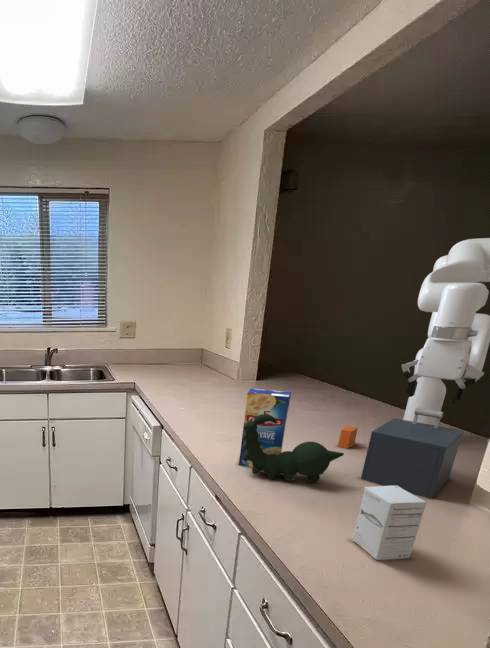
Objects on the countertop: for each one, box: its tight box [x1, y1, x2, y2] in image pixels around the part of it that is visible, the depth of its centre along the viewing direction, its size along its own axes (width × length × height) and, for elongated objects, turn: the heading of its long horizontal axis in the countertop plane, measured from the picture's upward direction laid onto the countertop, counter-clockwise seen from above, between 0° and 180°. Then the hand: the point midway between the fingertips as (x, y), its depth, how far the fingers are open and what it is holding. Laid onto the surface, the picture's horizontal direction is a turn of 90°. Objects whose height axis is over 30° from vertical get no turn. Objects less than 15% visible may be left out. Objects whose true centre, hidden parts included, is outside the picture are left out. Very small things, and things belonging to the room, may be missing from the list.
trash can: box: [360, 434, 463, 499], centre depth 118 cm, size 18×16×13 cm
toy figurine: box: [242, 414, 345, 484], centre depth 118 cm, size 9×19×25 cm
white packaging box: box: [351, 485, 427, 561], centre depth 86 cm, size 7×7×13 cm
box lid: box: [370, 408, 464, 450], centre depth 115 cm, size 19×16×5 cm
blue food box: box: [238, 387, 292, 468], centre depth 127 cm, size 7×11×22 cm, turn 62°
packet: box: [337, 425, 359, 449], centre depth 144 cm, size 6×3×6 cm, turn 131°
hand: (432, 399), depth 117 cm, fingers open, 9 cm apart
